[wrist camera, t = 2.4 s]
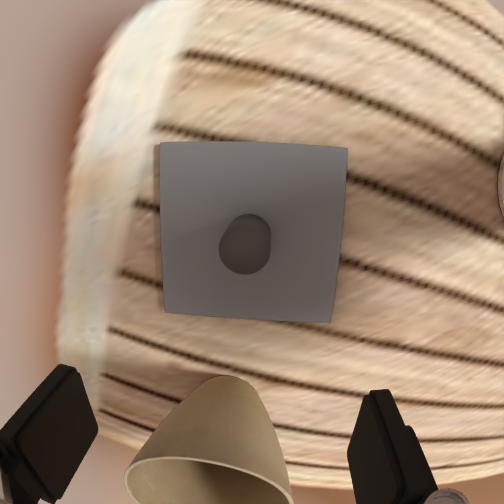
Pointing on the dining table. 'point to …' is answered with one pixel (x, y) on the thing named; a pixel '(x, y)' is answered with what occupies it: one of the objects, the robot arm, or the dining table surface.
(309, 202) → the lid
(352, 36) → the dining table surface
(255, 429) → the plant pot
